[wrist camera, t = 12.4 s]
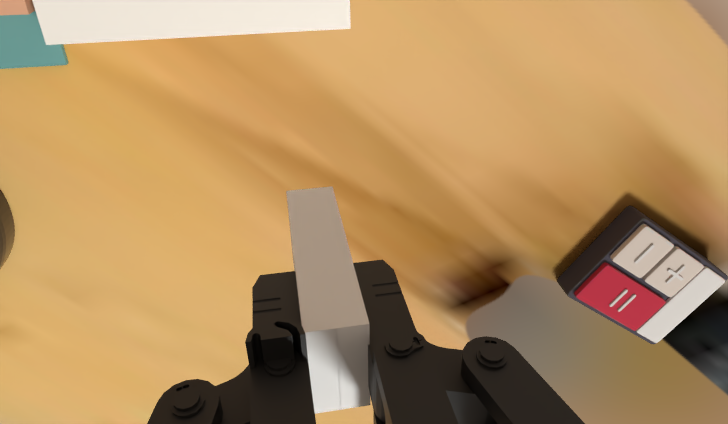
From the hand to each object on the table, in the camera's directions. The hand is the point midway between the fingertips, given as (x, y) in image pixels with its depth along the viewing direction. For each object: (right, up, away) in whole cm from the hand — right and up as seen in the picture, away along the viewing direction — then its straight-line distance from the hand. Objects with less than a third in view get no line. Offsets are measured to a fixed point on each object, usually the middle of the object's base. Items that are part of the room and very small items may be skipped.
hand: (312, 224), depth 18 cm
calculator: (+31, -6, +42) cm, 53 cm away
